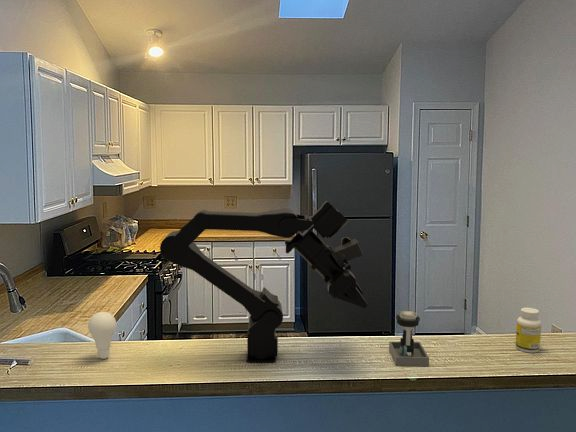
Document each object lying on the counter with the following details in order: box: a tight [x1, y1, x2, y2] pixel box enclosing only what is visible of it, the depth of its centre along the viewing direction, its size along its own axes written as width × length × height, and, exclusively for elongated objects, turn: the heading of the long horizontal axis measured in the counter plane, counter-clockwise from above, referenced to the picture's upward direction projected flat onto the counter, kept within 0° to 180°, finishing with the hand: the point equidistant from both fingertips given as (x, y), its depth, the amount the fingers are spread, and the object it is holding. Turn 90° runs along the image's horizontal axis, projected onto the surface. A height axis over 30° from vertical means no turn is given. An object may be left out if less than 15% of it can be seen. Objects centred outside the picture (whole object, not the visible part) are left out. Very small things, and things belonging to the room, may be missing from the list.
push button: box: [395, 310, 421, 357], centre depth 125 cm, size 7×5×10 cm
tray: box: [388, 341, 430, 367], centre depth 125 cm, size 7×9×2 cm
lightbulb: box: [87, 311, 117, 360], centre depth 123 cm, size 6×6×11 cm
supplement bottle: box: [515, 307, 542, 354], centre depth 130 cm, size 5×5×10 cm
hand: (364, 300), depth 124 cm, fingers open, 9 cm apart
